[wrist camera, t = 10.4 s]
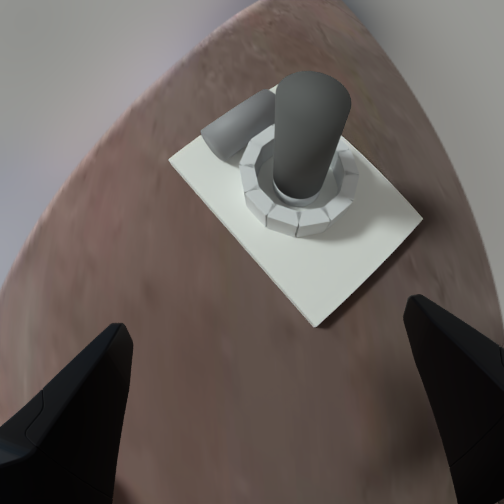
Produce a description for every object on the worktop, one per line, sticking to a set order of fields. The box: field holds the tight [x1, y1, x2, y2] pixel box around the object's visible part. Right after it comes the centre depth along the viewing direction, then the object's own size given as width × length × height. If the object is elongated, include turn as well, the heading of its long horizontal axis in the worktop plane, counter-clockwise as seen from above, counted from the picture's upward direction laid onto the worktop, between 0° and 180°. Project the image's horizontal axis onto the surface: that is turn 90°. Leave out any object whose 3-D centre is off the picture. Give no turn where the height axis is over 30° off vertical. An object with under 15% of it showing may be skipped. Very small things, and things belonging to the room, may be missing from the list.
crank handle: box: [273, 71, 351, 207], centre depth 18 cm, size 4×4×10 cm
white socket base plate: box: [168, 85, 423, 327], centre depth 22 cm, size 17×12×4 cm
